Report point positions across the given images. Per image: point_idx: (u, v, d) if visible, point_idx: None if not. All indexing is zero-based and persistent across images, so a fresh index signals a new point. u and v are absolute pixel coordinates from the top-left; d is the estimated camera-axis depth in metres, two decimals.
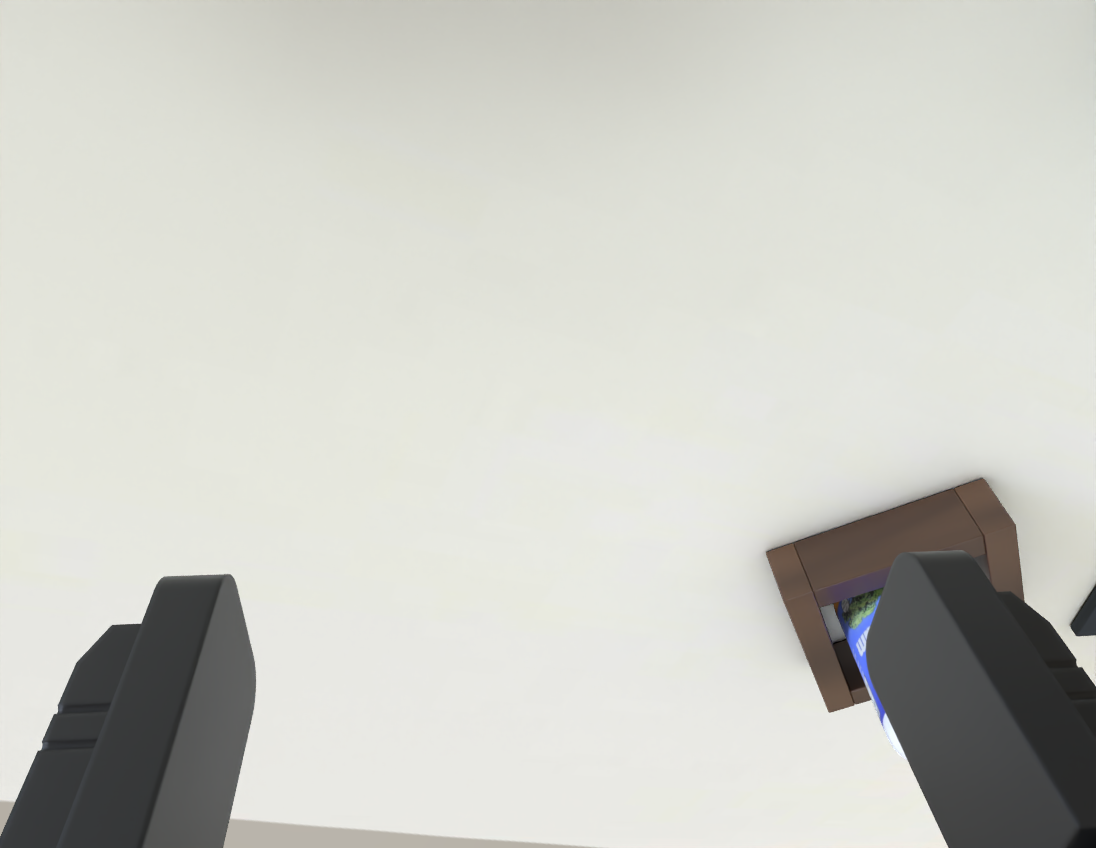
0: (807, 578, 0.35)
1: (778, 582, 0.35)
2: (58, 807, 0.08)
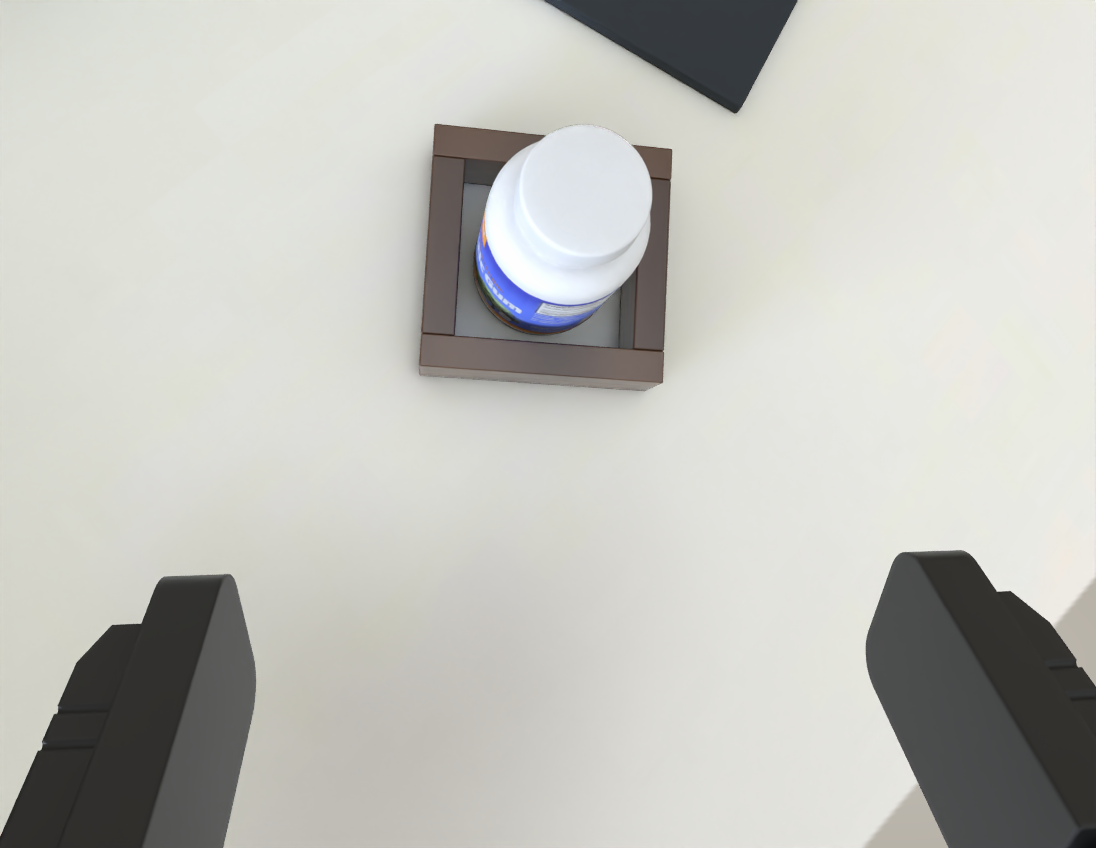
0: None
1: (419, 367, 0.33)
2: (58, 807, 0.08)
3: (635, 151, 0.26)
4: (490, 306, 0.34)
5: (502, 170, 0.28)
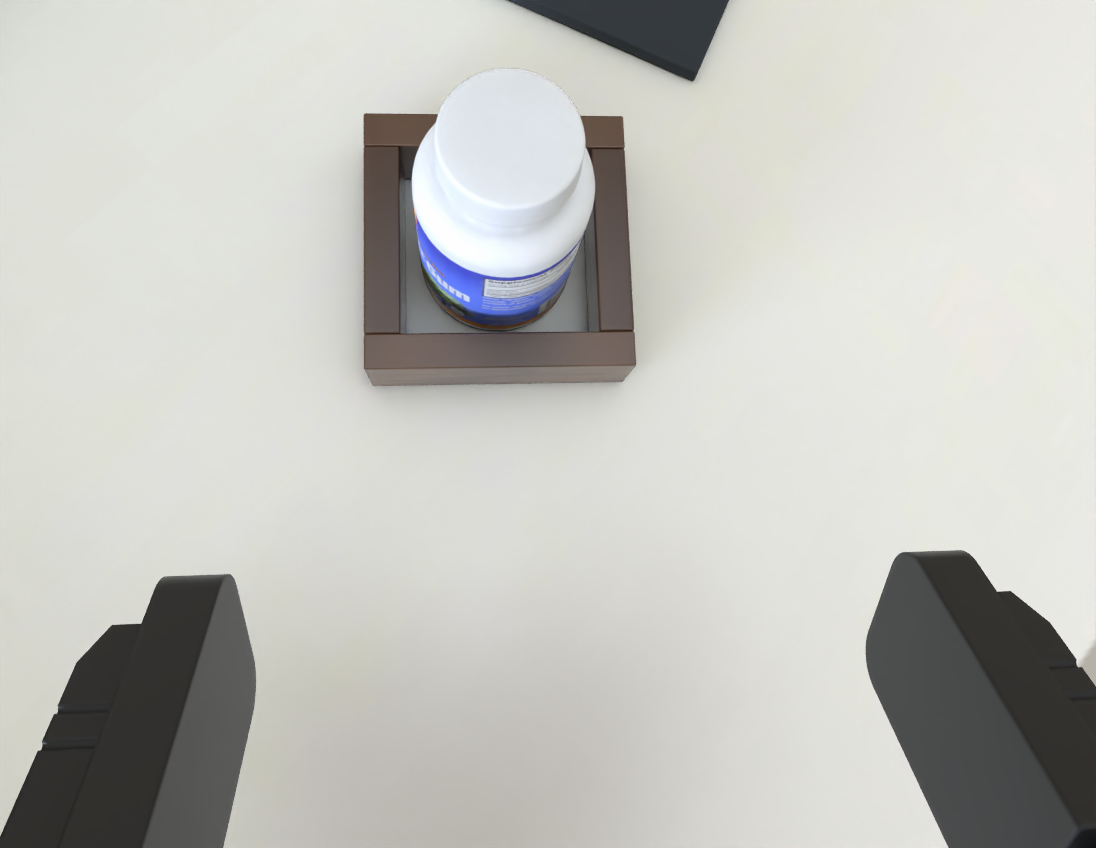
0: None
1: (367, 373, 0.30)
2: (58, 808, 0.08)
3: (563, 92, 0.23)
4: (441, 303, 0.31)
5: (425, 137, 0.25)
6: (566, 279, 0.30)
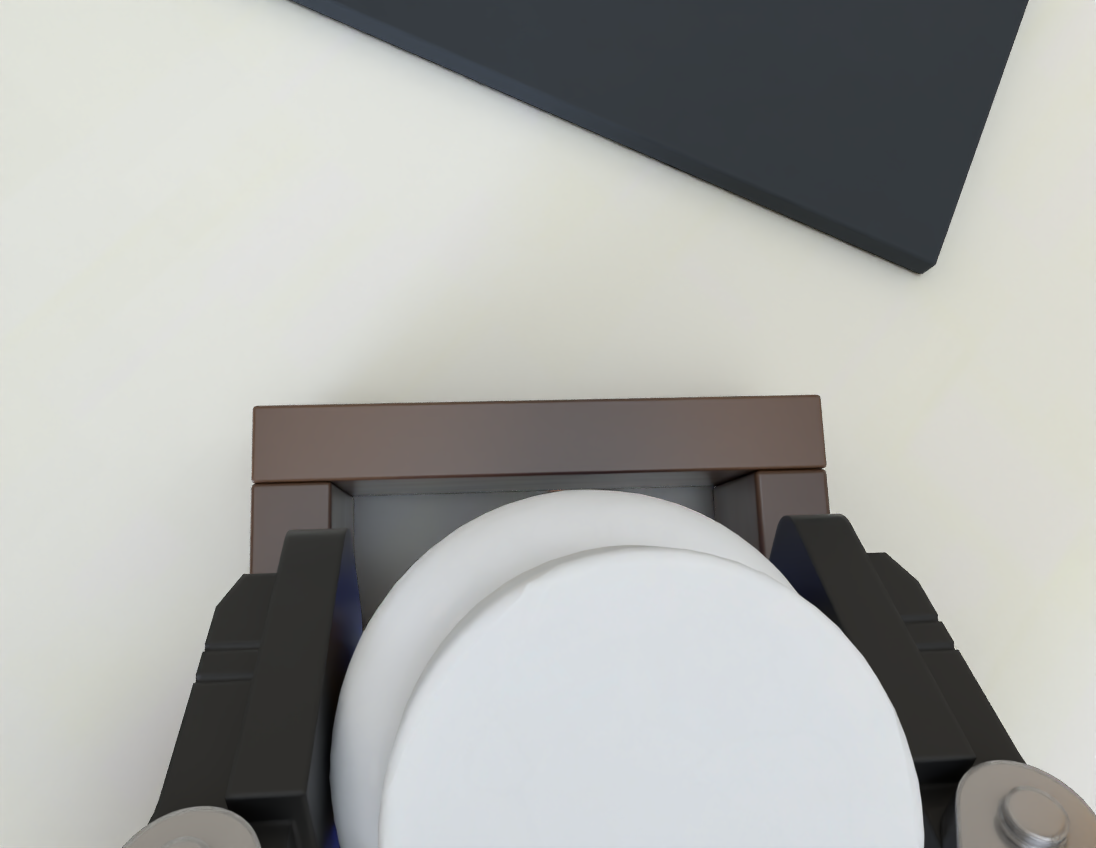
0: None
1: None
2: (221, 732, 0.09)
3: (829, 622, 0.07)
4: None
5: (368, 636, 0.09)
6: None
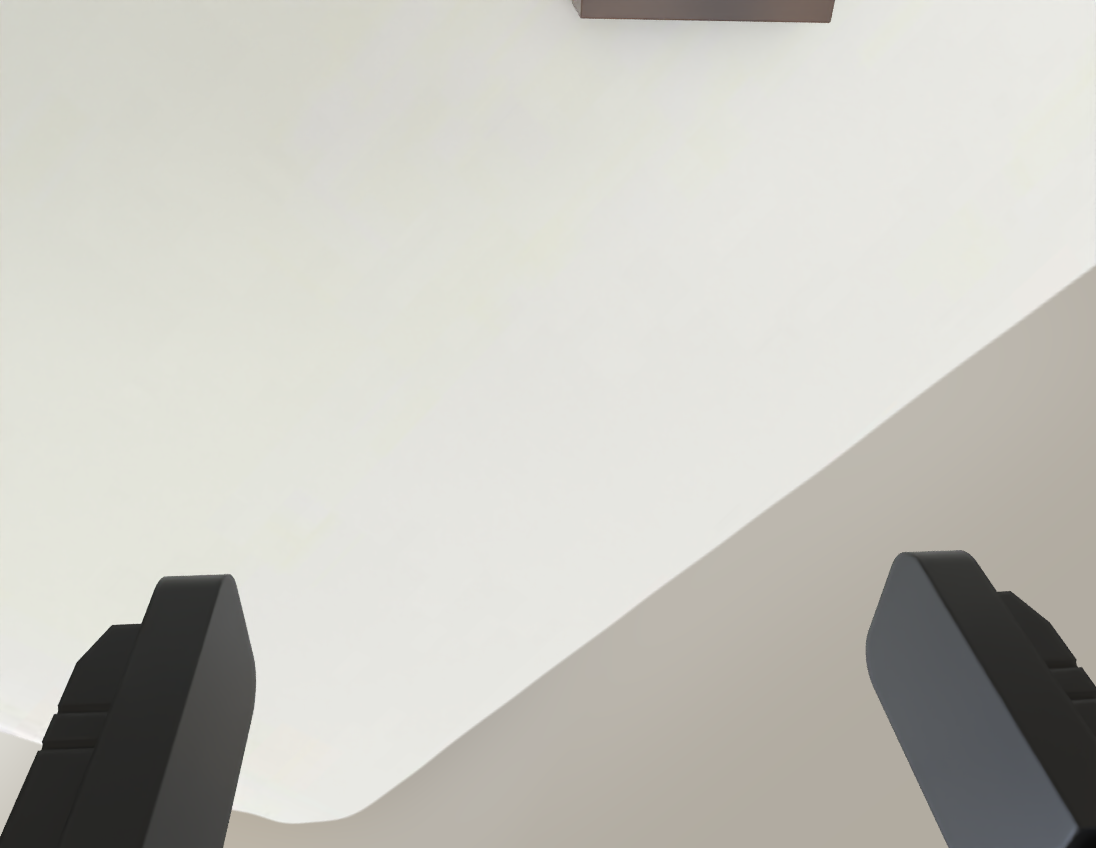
0: None
1: (577, 11, 0.31)
2: (58, 807, 0.08)
3: None
4: None
5: None
6: None
